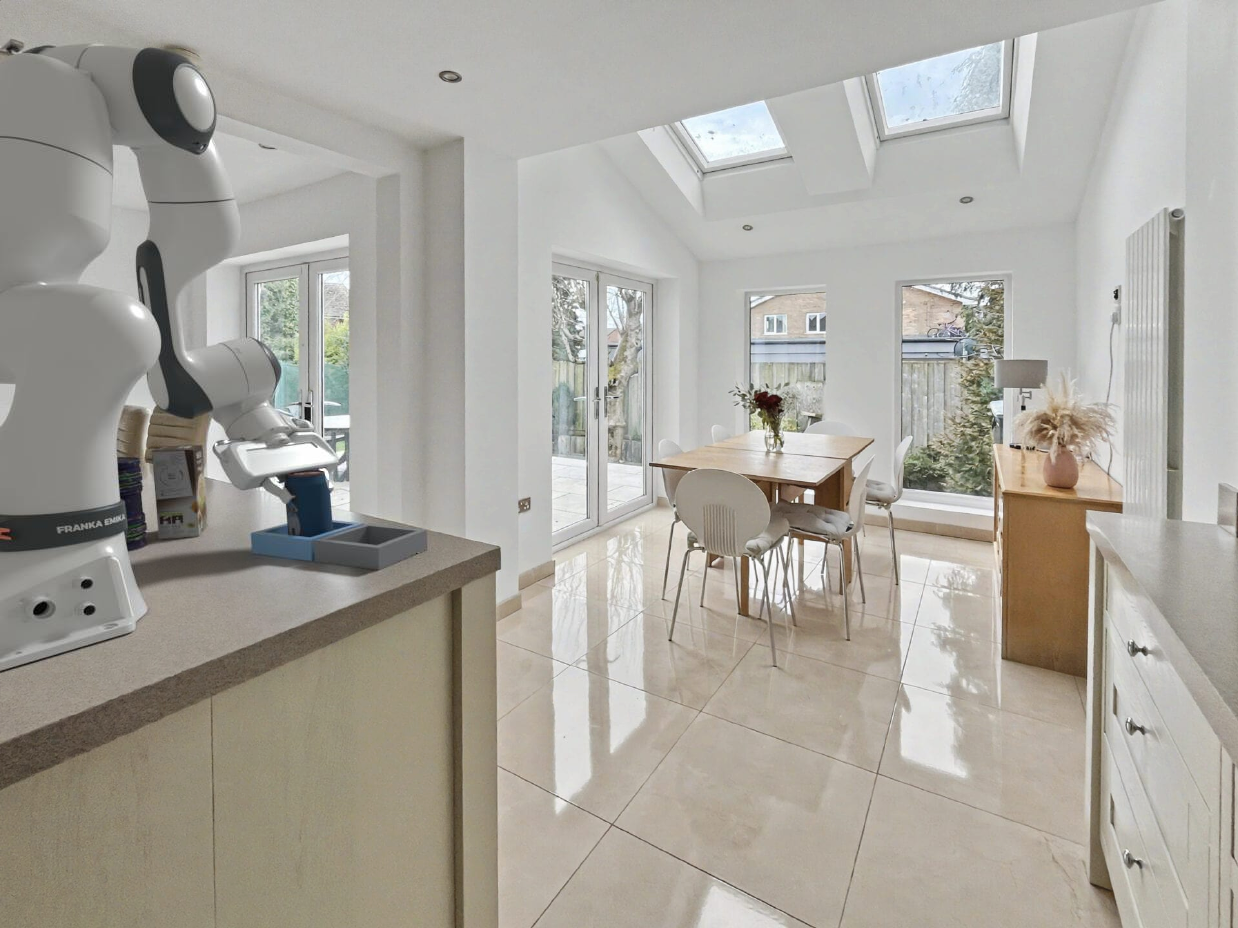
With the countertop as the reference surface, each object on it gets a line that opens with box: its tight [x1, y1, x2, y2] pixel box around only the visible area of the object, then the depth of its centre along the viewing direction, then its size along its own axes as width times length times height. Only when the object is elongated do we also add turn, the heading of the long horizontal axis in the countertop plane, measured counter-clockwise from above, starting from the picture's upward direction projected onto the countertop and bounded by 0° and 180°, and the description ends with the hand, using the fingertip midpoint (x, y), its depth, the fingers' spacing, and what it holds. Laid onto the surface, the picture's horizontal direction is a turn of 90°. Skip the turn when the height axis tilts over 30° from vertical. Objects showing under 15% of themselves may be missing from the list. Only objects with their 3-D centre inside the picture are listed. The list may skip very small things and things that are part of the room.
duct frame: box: [250, 519, 428, 571], centre depth 106 cm, size 12×25×4 cm, turn 72°
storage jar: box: [117, 456, 148, 553], centre depth 105 cm, size 10×10×15 cm
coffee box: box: [151, 444, 209, 540], centre depth 116 cm, size 9×6×16 cm
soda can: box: [283, 470, 333, 537], centre depth 107 cm, size 7×7×12 cm
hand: (310, 496), depth 107 cm, fingers closed on soda can, 7 cm apart
